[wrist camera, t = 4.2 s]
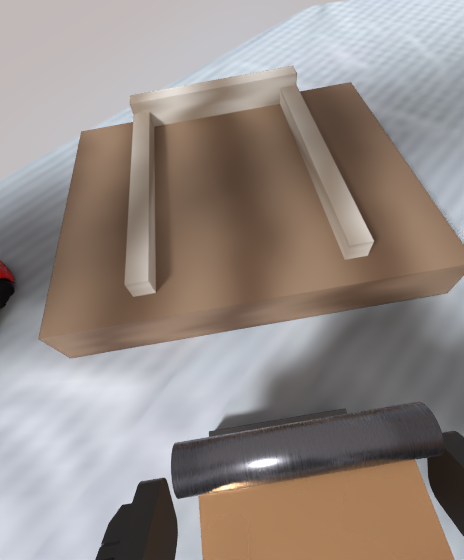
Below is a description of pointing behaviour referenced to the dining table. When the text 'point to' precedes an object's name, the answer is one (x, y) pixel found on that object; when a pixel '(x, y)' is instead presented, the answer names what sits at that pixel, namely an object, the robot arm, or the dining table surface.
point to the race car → (5, 284)
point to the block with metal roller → (316, 487)
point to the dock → (239, 217)
